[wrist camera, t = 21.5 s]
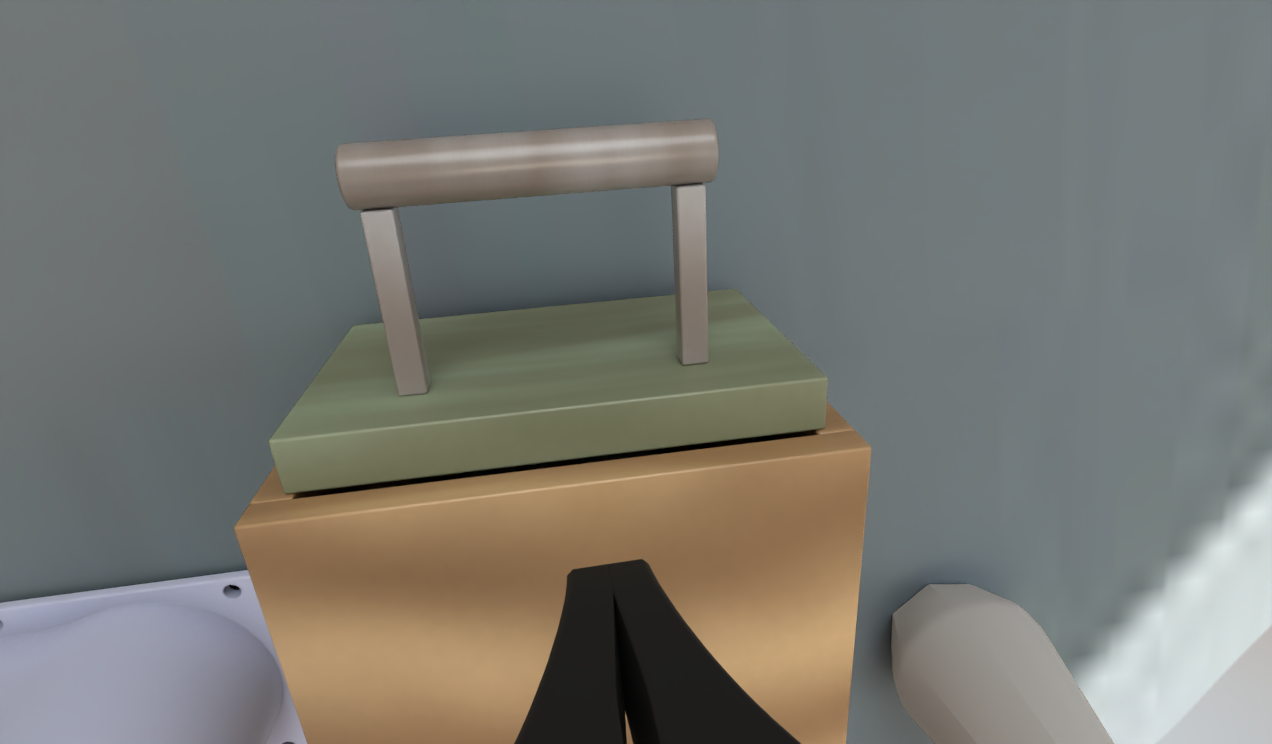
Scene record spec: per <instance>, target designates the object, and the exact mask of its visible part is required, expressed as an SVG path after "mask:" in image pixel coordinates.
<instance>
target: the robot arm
mask: <svg viewBox="0 0 1272 744" xmlns="http://www.w3.org/2000/svg"><path fill="white" fill-rule="evenodd" d="M229 585H235V586H237V587H239V588H240V590H234V589H232V588H231V587H230V586H229ZM0 621H1V622H0V744H307V741H306V739H305V736H304V733H303V730H302V727H301V724H300V721H299V718H298V715H297V712H296V709H295V706H294V703H293V701H292V698H291V695H290V692H289V689H288V686H287V683H286V680H285V677H284V674H283V671H282V668H281V665H280V663H279V660H278V657H277V654H276V651H275V648H274V645H273V642H272V639H271V636H270V633H269V630H268V627H267V625H266V622H265V619H264V616H263V613H262V610H261V607H260V604H259V601H258V598H257V595H256V592H255V589H254V587H253V584H252V581H251V578H250V575H249V572H248V570H244V571H236V572H229V573H221V574H213V575H206V576H198V577H191V578H183V579H176V580H168V581H161V582H153V583H146V584H138V585H130V586H123V587H115V588H108V589H100V590H93V591H85V592H78V593H70V594H62V595H55V596H47V597H40V598H32V599H25V600H17V601H10V602H2V603H0ZM625 712H626V716H627V721H628V725H629V729H630V733H631V737H632V741H633V744H801V743H800V742H799V741H798V740H797V739H795V738H794V737H793V736H792V735H791V734H790V733H789V732H788V731H786V730H785V729H784V728H783V727H782V726H781V725H780V724H779V723H777V722H776V721H775V720H774V719H773V718H772V717H771V716H770V715H769V714H768V713H767V712H766V711H765V710H763V709H762V708H761V707H760V706H759V705H758V704H757V703H756V702H755V701H754V700H753V699H752V698H751V697H750V696H749V695H748V694H747V693H746V692H745V691H744V690H743V689H742V688H741V687H740V686H739V685H738V683H737V682H736V681H735V680H734V679H733V678H732V677H731V676H730V675H729V674H728V673H727V671H726V670H725V669H724V668H723V667H722V666H721V665H720V664H719V663H718V661H717V660H716V659H715V658H714V657H713V656H712V654H711V653H710V652H709V651H708V650H707V648H706V647H705V646H704V645H703V644H702V642H701V641H700V640H699V638H698V637H697V636H696V635H695V633H694V632H693V631H692V630H691V628H690V627H689V626H688V624H687V623H686V622H685V621H684V619H683V618H682V616H681V615H680V614H679V612H678V611H677V610H676V608H675V607H674V605H673V604H672V602H671V601H670V599H669V598H668V596H667V595H666V593H665V592H664V590H663V589H662V587H661V585H660V584H659V582H658V580H657V579H656V577H655V575H654V573H653V571H652V569H651V567H650V565H649V563H647V562H646V561H644V560H643V559H638V560H631V561H625V562H618V563H611V564H604V565H598V566H591V567H584V568H578V569H573V570H572V571H571V572H570V573H569V574H568V575H567V586H566V594H565V600H564V605H563V610H562V614H561V618H560V622H559V626H558V630H557V633H556V636H555V639H554V643H553V646H552V649H551V653H550V656H549V659H548V662H547V665H546V668H545V671H544V673H543V676H542V679H541V681H540V684H539V686H538V689H537V691H536V694H535V697H534V699H533V702H532V704H531V707H530V709H529V712H528V714H527V716H526V719H525V721H524V723H523V725H522V728H521V730H520V732H519V734H518V736H517V739H516V741H515V743H514V744H627V735H626V718H625ZM289 742H292V743H289Z"/></svg>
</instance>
